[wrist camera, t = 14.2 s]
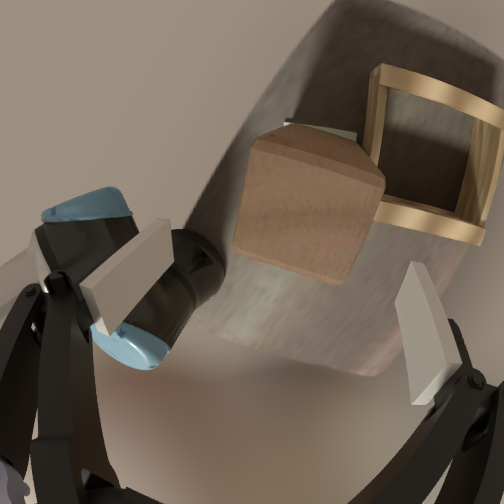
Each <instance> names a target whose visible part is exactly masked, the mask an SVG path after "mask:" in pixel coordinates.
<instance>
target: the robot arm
mask: <svg viewBox="0 0 504 504" xmlns="http://www.w3.org/2000/svg"><path fill="white" fill-rule="evenodd" d="M41 215H42V219H41V220H42V222H44V224H43V225H41V226H39V227H38V228H36V229H35V230H33V232H32V236H31V240H30V244H29V246H28V248H26V249H25V250H23V251H22V252H20V253H19V254H17V255H16V256H15V257H13V258H12V259H10V260H9V261H8V262H6V263H5V264H4V265H2V266H1V267H0V504H26V503H25V500H24V496H28V495H29V494H30V488H29V486H28V485H27V484H26V483H25V482H23V480H24V477H25V474H26V471H27V467H28V462H29V455H30V458H31V466H32V474H33V481H34V487H35V493H36V497H37V502H38V503H37V504H164V503H161V502H159V501H157V500H154V499H152V498H150V497H148V496H145V495H143V494H141V493H139V492H137V491H134V490H132V489H130V488H128V487H126V489H122V488H121V487H120V484H119V480H118V478H117V475H116V473H115V471H114V469H113V468H112V466H111V465H110V463H109V460H108V457H107V452H106V448H105V444H104V438H103V434H102V428H101V422H100V417H99V410H98V403H97V395H96V386H95V376H94V365H93V347H92V339H93V340H94V341H95V342H96V343H97V345H98V346H99V347H100V348H102V349H103V350H104V351H105V352H106V353H108V354H109V355H110V356H112V357H113V358H115V359H116V360H118V361H120V362H121V363H123V364H125V365H128V366H130V367H133V368H136V369H141V370H151V369H154V368H156V367H157V366H158V365H159V364H160V363H161V361H162V360H163V359H164V357H165V356H166V355H167V354H168V353H169V352H170V350H171V348H172V346H173V345H174V343H175V341H176V340H177V338H178V336H179V335H180V333H181V331H182V330H183V328H184V326H185V325H186V323H187V321H188V320H189V318H190V317H191V315H192V313H193V312H194V310H195V309H196V308H198V307H199V306H201V305H202V304H203V303H205V302H206V301H208V300H210V299H211V298H213V297H214V296H215V294H216V293H217V292H218V290H219V289H220V287H221V285H222V283H223V280H224V266H223V262H222V260H221V257H220V256H219V254H218V252H217V251H216V249H215V248H214V247H213V246H212V245H211V244H210V243H209V242H208V241H207V240H206V239H205V238H203V237H202V236H200V235H198V234H196V233H194V232H192V231H188V230H184V229H174V230H171V226H170V220H168V219H161V218H158V219H157V220H156V221H154V222H153V223H152V224H150V225H149V226H148V227H147V228H145V229H144V230H143V231H141V232H140V233H139V230H138V228H137V226H136V224H135V221H134V219H133V217H132V215H133V213H132V212H131V211H130V210H129V208H128V206H127V204H126V201H125V199H124V197H123V195H122V193H121V192H120V190H119V189H117V188H115V187H105V188H101V189H98V190H95V191H92V192H89V193H86V194H84V195H81V196H78V197H76V198H73V199H71V200H68V201H66V202H63V203H61V204H59V205H56V206H54V207H52V208H50V209H47V210H45V211H43V212H42V214H41ZM395 307H396V311H397V316H398V320H399V325H400V330H401V335H402V341H403V346H404V352H405V358H406V365H407V371H408V379H409V388H410V397H411V404H412V405H415V404H416V405H426V404H427V403H428V402H429V401H430V400H431V399H432V398H433V397H434V402H435V405H434V406H433V407H432V408H431V409H430V410H429V411H428V412H427V413H425V415H423V416H422V418H424V417H425V418H424V419H423V420H422V422H421V423H420V425H419V426H418V427H417V429H416V430H415V431H414V433H413V434H412V435H411V437H410V438H409V439H408V440H407V442H406V443H405V444H404V445H403V447H402V448H401V449H400V450H399V452H398V453H397V454H396V455H395V456H394V457H393V458H392V460H391V461H390V462H389V463H388V464H387V465H386V466H385V467H384V469H383V470H382V471H381V472H380V473H379V474H378V475H377V476H376V477H375V478H374V479H373V480H372V481H371V482H370V483H369V484H368V485H367V486H366V487H365V488H364V489H363V490H362V491H361V492H360V493H359V494H357V495H356V496H355V497H354V498H353V499H352V500H351V501H350V502H349V503H348V504H422V502H423V501H424V500H425V499H426V497H427V496H428V495H429V493H430V492H431V490H432V489H433V488H434V486H435V485H436V483H437V482H438V481H439V479H440V478H441V476H442V475H443V473H444V472H445V470H446V468H447V467H448V465H449V464H450V462H451V460H452V459H453V460H452V463H451V466H450V468H449V471H448V473H447V476H446V478H445V481H444V483H443V486H442V488H441V491H440V492H439V495H438V497H437V499H436V501H435V503H434V504H500V501H501V498H502V495H503V492H504V381H503V382H502V383H501V384H500V385H499V386H498V387H495V386H492V385H489V384H487V383H486V379H485V377H484V375H483V374H482V373H481V372H480V371H479V370H477V369H474V368H473V367H472V364H471V360H470V358H469V354H468V351H467V349H466V345H464V340H463V338H462V334H461V332H460V329H459V327H458V325H457V324H456V323H455V322H454V320H453V319H447V317H446V314H445V312H444V309H443V307H442V304H441V301H440V299H439V297H438V294H437V292H436V290H435V287H434V285H433V283H432V281H431V278H430V276H429V274H428V272H427V270H426V268H425V266H424V263H419V262H414V261H411V263H410V265H409V268H408V271H407V273H406V276H405V278H404V281H403V283H402V286H401V288H400V291H399V293H398V295H397V298H396V300H395ZM32 323H33V324H34V325H35V327H36V328H35V330H34V331H33V330H32V328H31V326H32ZM37 407H38V438H36V439H34V440H32V433H33V428H34V422H35V417H36V412H37Z"/></svg>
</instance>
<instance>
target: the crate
mask: <svg viewBox="0 0 504 504" xmlns="http://www.w3.org/2000/svg"><path fill="white" fill-rule="evenodd" d="M388 87H390V88H394V89H397V90H401V91H405V92H408V93H411V94H415V95H418V96H421V97H424V98H427V99H430V100H433V101H436V102H439V103H442V104H444V105H447V106H450V107H452V108H455V109H457V110H460V111H462V112H464V113H467V114H469V115H471V116H474V123H473V131H472V138H471V144H470V150H469V155H468V160H467V165H466V170H465V174H464V178H463V182H462V186H461V190H460V194H459V198H458V201H457V205H456V208H455V212H451V211H448V210H444V209H441V208H437V207H433V206H430V205H426V204H422V203H418V202H414V201H410V200H406V199H402V198H398V197H394V196H389V195H385V194H383V196H382V198H381V201H380V204H379V206H378V209H377V211H376V214H375V216H374V219H373V221H378V222H383V223H387V224H392V225H397V226H401V227H406V228H410V229H414V230H419V231H423V232H427V233H431V234H435V235H439V236H443V237H447V238H451V239H455V240H459V241H463V242H467V243H470V244H474V245H478V246H480V245H481V242H482V240H483V237H484V235H485V232H486V228H485V227H484V225H485V222H486V219H487V216H488V213H489V209H490V206H491V202H492V199H493V195H494V191H495V188H496V184H497V180H498V176H499V172H500V167H501V162H502V157H503V151H504V110H502V109H500V108H498V107H497V106H495V105H493V104H491V103H489V102H487V101H485V100H483V99H481V98H479V97H477V96H475V95H473V94H470V93H468V92H466V91H464V90H461V89H459V88H457V87H454V86H452V85H449V84H447V83H444V82H442V81H439V80H436V79H433V78H431V77H428V76H425V75H422V74H419V73H416V72H412V71H409V70H406V69H402V68H399V67H395V66H391V65H387V64H383V63H381V64H380V65H379V66H377V67H376V68H375V69H374V70H373V71H372V72H370V77H369V90H368V101H367V111H366V120H365V128H364V136H363V143H362V149H363V150H364V151H365V152H366V154H367V155H368V156H369V157H370V158H371V160H372V161H373V162H374V163H375V165H376V166H377V165H378V160H379V154H380V147H381V141H382V134H383V126H384V118H385V110H386V100H387V89H388Z"/></svg>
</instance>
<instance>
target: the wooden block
mask: <svg viewBox="0 0 504 504" xmlns="http://www.w3.org/2000/svg"><path fill="white" fill-rule="evenodd" d="M385 188H386V185H385V176H384V175H383V174H382V172H381V171H380V170H379V168H378V167H377V166H376V165H375V163H374V162H373V161H372V160H371V158H370V157H369V156H368V155H367V154H366V152H365V151H364V150H363V149H362V148H361V146H360V145H359V144H358V143H356V142H355V141H353V140H350V139H347V138H344V137H341V136H338V135H335V134H332V133H329V132H326V131H322V130H319V129H316V128H312V127H309V126H305V125H301V124H298V123H293V124H289V125H286V126H284V127H281V128H279V129H276V130H274V131H271V132H269V133H266V134H264V135H261V136H259V137H257V138H256V140H255V141H254V142H253V144H252V145H251V150H250V154H249V159H248V164H247V169H246V174H245V179H244V184H243V189H242V195H241V200H240V205H239V210H238V215H237V221H236V226H235V231H234V237H233V245H234V251H236V252H237V253H239V254H240V255H243V256H246V257H249V258H252V259H255V260H258V261H261V262H264V263H268V264H271V265H274V266H277V267H280V268H283V269H286V270H289V271H293V272H296V273H299V274H302V275H305V276H308V277H311V278H315V279H318V280H321V281H324V282H327V283H330V284H342V283H343V282H344V281H345V279H346V278H347V277H348V275H349V273H350V271H351V269H352V266H353V264H354V262H355V260H356V258H357V256H358V253H359V251H360V249H361V247H362V244H363V242H364V240H365V238H366V235H367V233H368V231H369V228H370V226H371V223H372V221H373V219H374V216H375V214H376V211H377V209H378V206H379V204H380V201H381V198H382V196H383V193H384V190H385Z"/></svg>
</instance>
